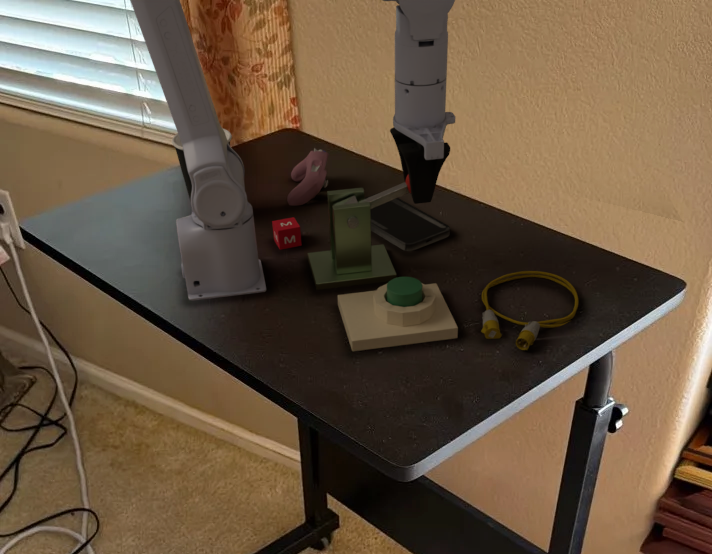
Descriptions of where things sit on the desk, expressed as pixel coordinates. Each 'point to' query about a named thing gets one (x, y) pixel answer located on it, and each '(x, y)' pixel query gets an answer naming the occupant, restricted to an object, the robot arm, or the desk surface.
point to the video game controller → (309, 177)
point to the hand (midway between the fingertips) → (418, 195)
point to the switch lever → (382, 195)
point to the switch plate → (395, 319)
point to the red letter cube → (287, 233)
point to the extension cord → (529, 330)
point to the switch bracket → (350, 246)
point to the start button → (404, 291)
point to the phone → (406, 225)
